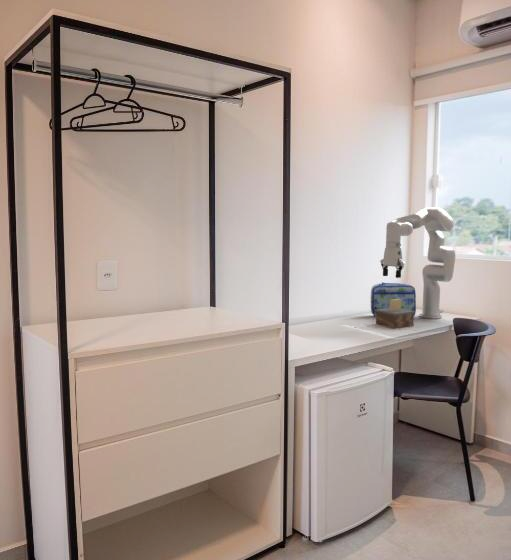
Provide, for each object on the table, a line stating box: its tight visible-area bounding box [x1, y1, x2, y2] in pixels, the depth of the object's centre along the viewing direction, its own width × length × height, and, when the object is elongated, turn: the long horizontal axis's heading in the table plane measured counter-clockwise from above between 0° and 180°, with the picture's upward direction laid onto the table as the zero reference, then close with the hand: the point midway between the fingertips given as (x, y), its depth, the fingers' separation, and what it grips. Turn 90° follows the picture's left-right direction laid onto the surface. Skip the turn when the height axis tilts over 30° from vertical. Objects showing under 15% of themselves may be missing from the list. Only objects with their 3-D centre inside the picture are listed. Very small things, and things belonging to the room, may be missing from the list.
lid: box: [375, 299, 416, 316], centre depth 286 cm, size 15×15×7 cm
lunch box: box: [370, 282, 417, 318], centre depth 313 cm, size 26×11×21 cm, turn 84°
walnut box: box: [375, 312, 415, 329], centre depth 287 cm, size 14×14×8 cm
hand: (391, 276), depth 285 cm, fingers open, 9 cm apart
